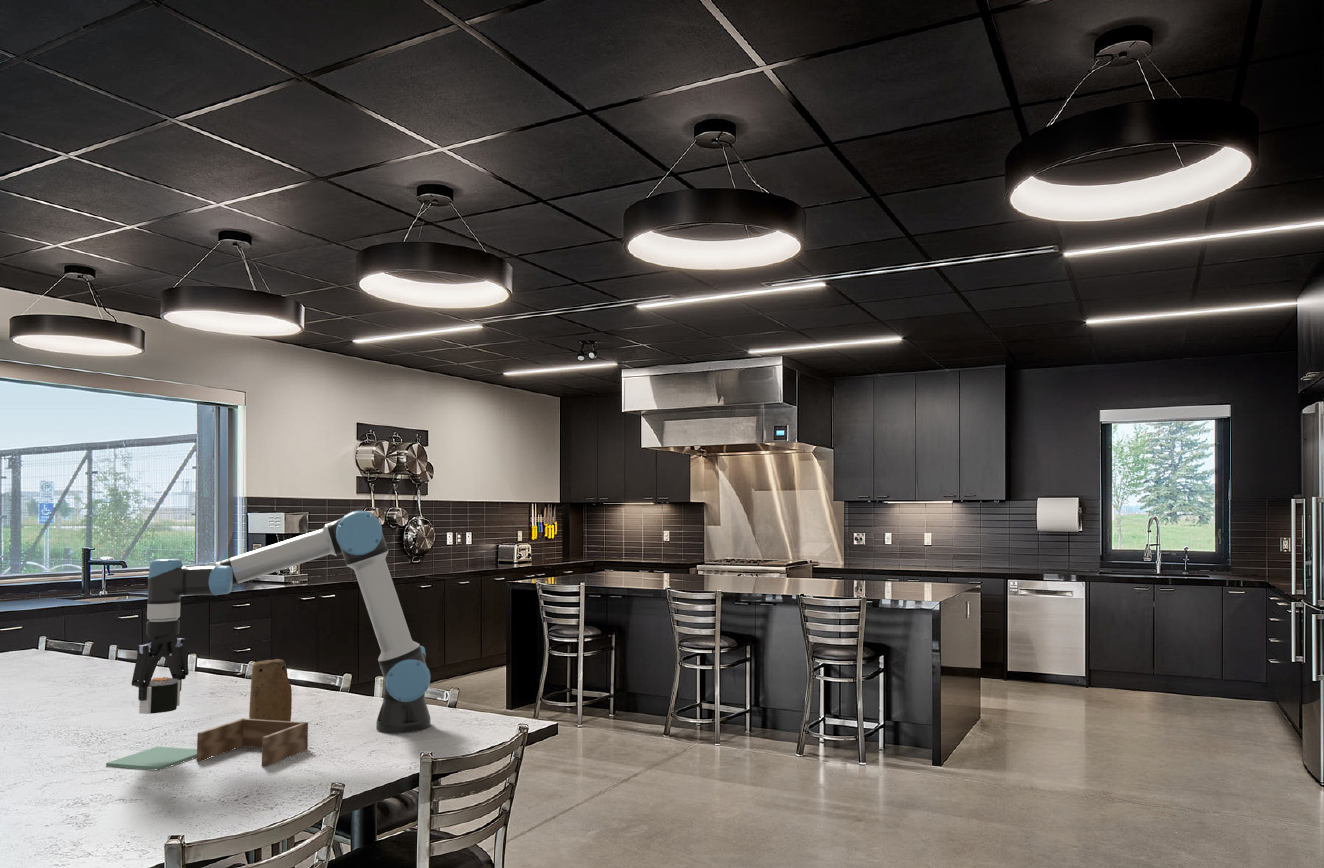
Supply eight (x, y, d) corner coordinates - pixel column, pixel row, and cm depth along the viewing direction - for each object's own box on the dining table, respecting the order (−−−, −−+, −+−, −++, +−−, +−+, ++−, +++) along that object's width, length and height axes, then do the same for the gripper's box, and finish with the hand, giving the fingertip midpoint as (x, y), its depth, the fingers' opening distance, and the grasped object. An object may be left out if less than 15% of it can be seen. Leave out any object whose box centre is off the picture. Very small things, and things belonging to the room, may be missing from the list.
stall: (241, 745, 244) (242, 718, 244) (307, 749, 239) (308, 722, 239) (196, 761, 228) (197, 732, 229) (265, 766, 223) (266, 737, 224)
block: (250, 736, 253) (252, 663, 255) (248, 731, 260) (250, 660, 261) (292, 731, 258) (293, 660, 260) (288, 726, 265) (290, 656, 266)
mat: (207, 753, 236) (208, 750, 236) (159, 770, 220) (159, 767, 220) (157, 749, 240) (157, 746, 240) (106, 766, 224) (106, 763, 225)
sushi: (140, 715, 226) (142, 682, 226) (142, 708, 233) (143, 677, 234) (177, 711, 229) (178, 679, 230) (177, 705, 237) (179, 674, 237)
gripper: (183, 614, 244) (179, 700, 242) (116, 624, 224) (112, 718, 222) (206, 615, 242) (203, 701, 240) (141, 625, 222) (137, 719, 220)
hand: (159, 709), depth 231 cm, fingers closed on sushi, 9 cm apart
